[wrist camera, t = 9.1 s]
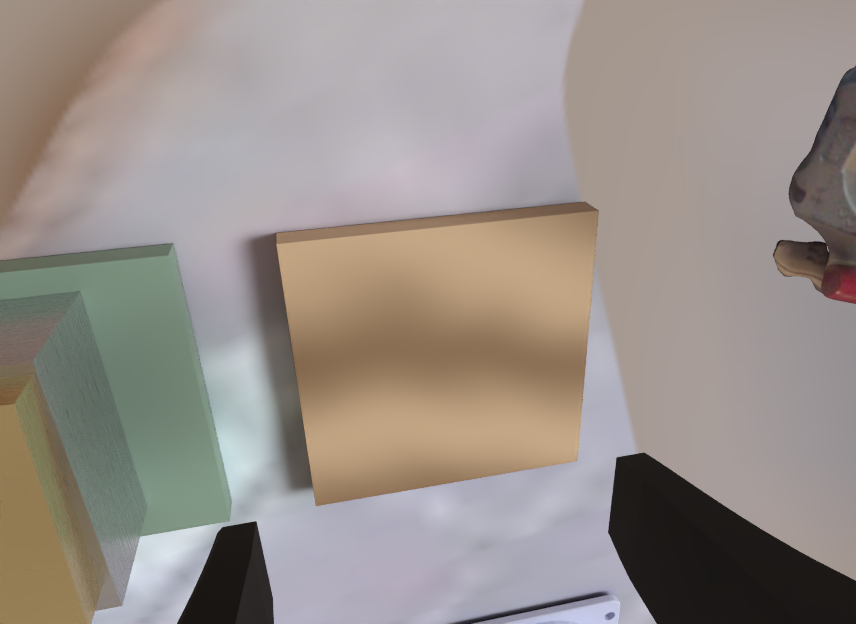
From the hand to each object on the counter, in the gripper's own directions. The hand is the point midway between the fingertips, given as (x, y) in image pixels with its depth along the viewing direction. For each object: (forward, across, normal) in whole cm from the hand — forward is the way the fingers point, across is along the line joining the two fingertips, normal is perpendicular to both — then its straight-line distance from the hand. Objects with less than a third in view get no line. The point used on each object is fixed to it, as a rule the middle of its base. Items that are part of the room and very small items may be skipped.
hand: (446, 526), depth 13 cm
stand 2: (+10, -2, +2) cm, 10 cm away
